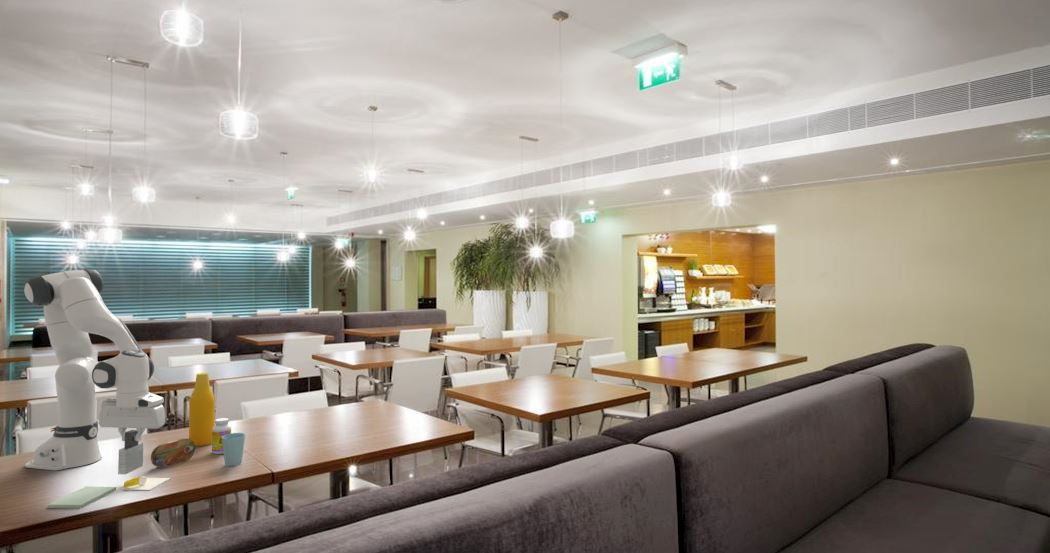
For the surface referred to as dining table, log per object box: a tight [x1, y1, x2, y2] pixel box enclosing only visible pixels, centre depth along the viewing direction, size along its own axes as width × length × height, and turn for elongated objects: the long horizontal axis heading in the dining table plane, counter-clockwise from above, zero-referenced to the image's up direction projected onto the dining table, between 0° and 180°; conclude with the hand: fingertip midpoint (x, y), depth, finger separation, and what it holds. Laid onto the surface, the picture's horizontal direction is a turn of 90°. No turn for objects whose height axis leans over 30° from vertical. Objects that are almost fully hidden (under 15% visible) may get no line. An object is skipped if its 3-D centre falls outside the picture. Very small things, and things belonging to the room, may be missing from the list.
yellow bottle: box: [188, 372, 216, 448], centre depth 226 cm, size 9×9×29 cm
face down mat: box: [121, 477, 171, 492], centre depth 182 cm, size 9×10×1 cm
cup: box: [222, 432, 246, 467], centre depth 203 cm, size 8×8×10 cm
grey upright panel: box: [117, 429, 144, 475], centre depth 182 cm, size 2×8×13 cm, turn 0°
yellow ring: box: [123, 475, 147, 488], centre depth 181 cm, size 6×3×6 cm
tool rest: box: [47, 485, 117, 509], centre depth 170 cm, size 10×14×1 cm
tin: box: [150, 438, 196, 469], centre depth 202 cm, size 15×3×8 cm, turn 154°
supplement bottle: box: [211, 417, 232, 455], centre depth 216 cm, size 7×7×13 cm
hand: (131, 440), depth 182 cm, fingers closed on grey upright panel, 2 cm apart
